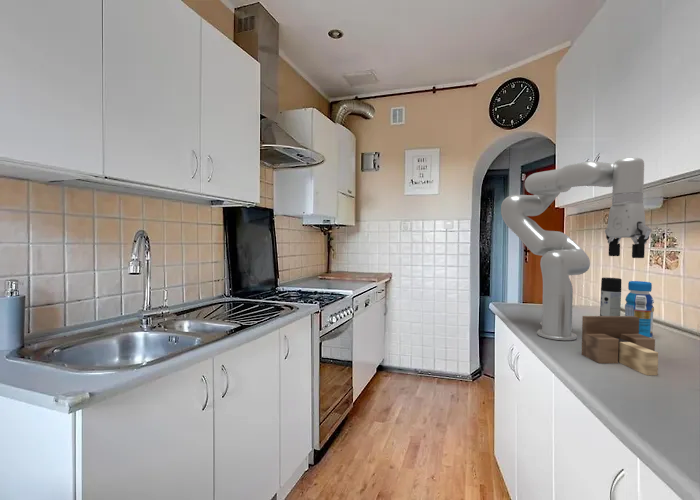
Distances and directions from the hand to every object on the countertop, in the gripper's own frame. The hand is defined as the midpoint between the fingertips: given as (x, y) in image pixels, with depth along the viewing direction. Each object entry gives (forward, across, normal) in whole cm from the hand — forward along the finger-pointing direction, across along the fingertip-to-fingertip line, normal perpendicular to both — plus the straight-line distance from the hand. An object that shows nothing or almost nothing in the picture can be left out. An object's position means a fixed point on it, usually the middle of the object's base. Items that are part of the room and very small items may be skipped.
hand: (625, 256), depth 113 cm
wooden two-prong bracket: (+30, +3, -4) cm, 31 cm away
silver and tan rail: (+30, +9, -4) cm, 32 cm away
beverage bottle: (+31, -22, +22) cm, 44 cm away
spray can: (+31, -34, +20) cm, 50 cm away
